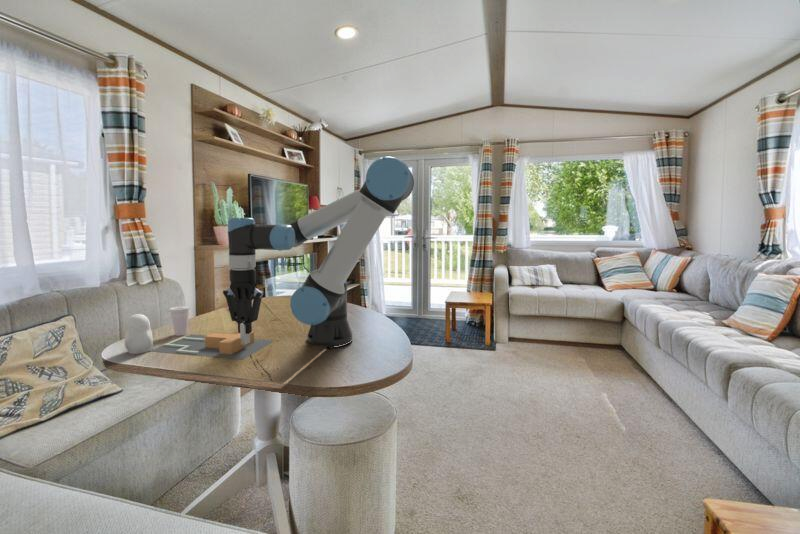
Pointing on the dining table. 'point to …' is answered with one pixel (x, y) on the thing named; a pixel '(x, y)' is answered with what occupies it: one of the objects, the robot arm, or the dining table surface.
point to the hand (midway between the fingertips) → (245, 343)
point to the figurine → (138, 334)
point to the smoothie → (180, 318)
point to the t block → (226, 342)
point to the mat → (213, 352)
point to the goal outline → (184, 347)
